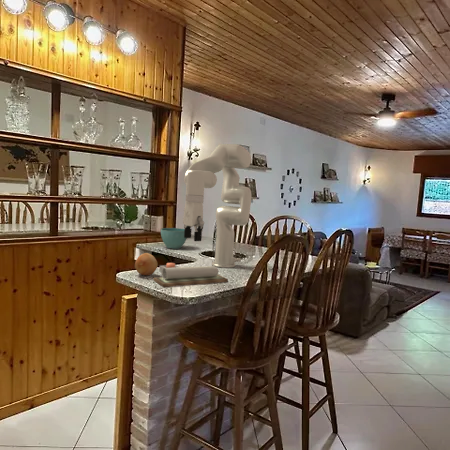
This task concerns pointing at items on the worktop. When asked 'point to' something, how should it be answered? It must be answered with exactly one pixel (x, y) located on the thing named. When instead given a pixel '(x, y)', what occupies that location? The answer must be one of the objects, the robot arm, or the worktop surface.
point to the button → (170, 265)
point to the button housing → (163, 267)
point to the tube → (189, 272)
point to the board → (189, 281)
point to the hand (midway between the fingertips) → (192, 239)
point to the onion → (146, 264)
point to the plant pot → (173, 237)
